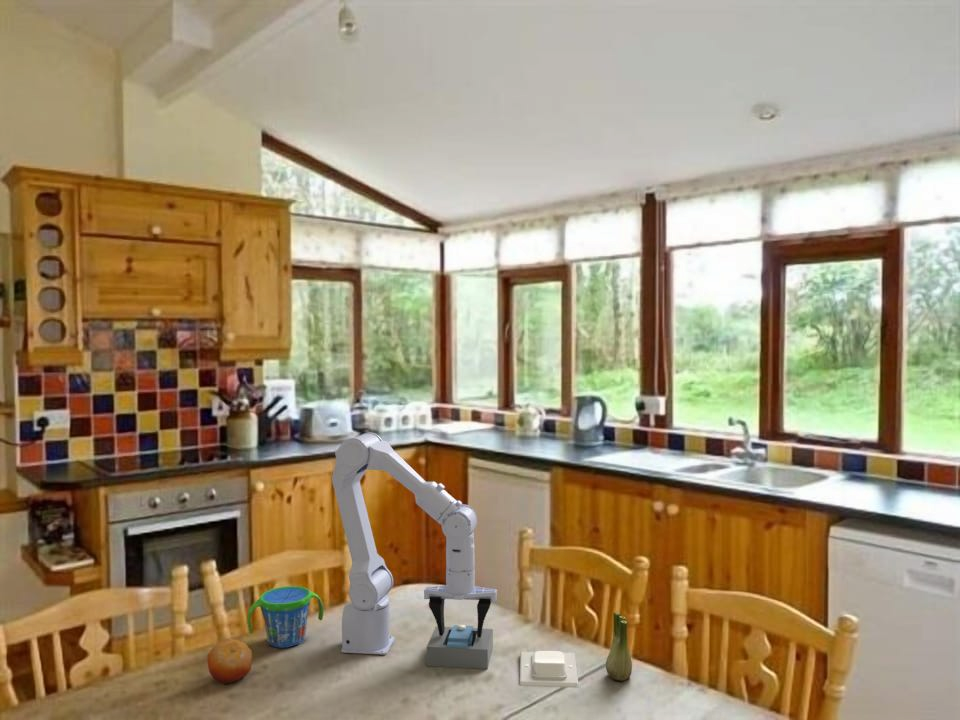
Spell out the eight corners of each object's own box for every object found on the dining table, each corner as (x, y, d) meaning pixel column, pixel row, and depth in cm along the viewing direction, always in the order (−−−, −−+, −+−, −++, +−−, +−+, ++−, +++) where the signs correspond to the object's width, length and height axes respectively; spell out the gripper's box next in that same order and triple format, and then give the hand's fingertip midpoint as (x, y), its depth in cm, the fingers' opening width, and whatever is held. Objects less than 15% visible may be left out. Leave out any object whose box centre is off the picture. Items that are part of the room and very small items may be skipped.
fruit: (235, 655, 146) (244, 627, 143) (251, 687, 142) (261, 658, 139) (195, 668, 141) (203, 639, 138) (211, 701, 136) (220, 672, 133)
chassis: (426, 665, 145) (426, 646, 144) (435, 644, 155) (435, 626, 154) (487, 668, 143) (487, 649, 143) (492, 647, 153) (492, 629, 153)
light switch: (519, 671, 136) (520, 638, 149) (519, 693, 136) (520, 658, 149) (578, 673, 135) (574, 639, 148) (578, 694, 136) (574, 659, 148)
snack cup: (248, 657, 148) (248, 608, 148) (246, 637, 158) (245, 590, 158) (327, 646, 154) (326, 598, 154) (320, 627, 164) (319, 581, 163)
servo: (447, 666, 144) (446, 638, 144) (454, 646, 154) (454, 619, 154) (467, 667, 144) (467, 639, 144) (473, 647, 153) (473, 620, 153)
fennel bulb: (629, 686, 136) (629, 622, 136) (602, 681, 138) (603, 618, 137) (634, 672, 142) (634, 610, 141) (608, 668, 143) (608, 607, 143)
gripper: (420, 572, 145) (421, 641, 146) (494, 575, 143) (494, 644, 144) (427, 561, 152) (428, 626, 153) (497, 564, 150) (498, 630, 151)
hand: (460, 634), depth 149 cm, fingers open, 7 cm apart
